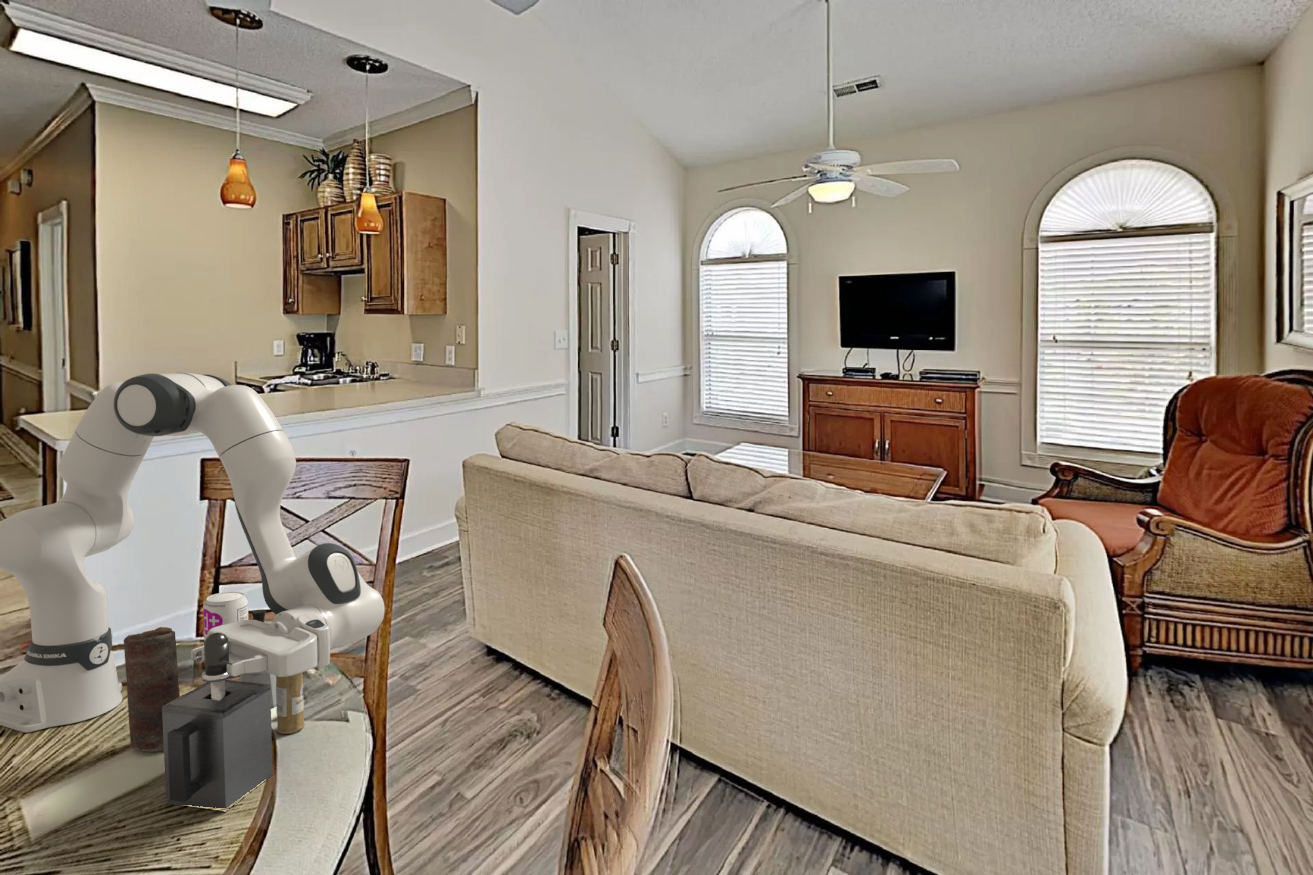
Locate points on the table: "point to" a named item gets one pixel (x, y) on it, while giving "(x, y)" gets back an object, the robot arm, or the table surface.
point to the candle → (150, 684)
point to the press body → (217, 744)
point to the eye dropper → (216, 663)
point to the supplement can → (224, 610)
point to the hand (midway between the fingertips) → (210, 663)
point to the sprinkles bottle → (289, 703)
